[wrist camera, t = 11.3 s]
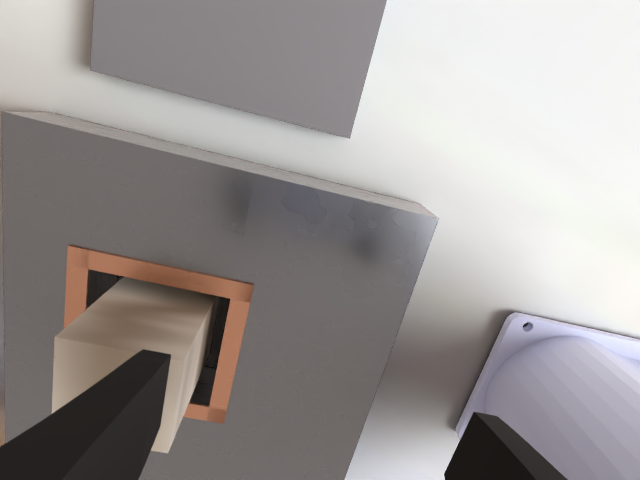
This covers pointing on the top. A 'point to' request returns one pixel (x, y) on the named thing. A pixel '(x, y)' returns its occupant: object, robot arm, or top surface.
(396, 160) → the top surface
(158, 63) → the gray square plate
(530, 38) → the top surface
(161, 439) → the peg
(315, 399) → the hole plate
